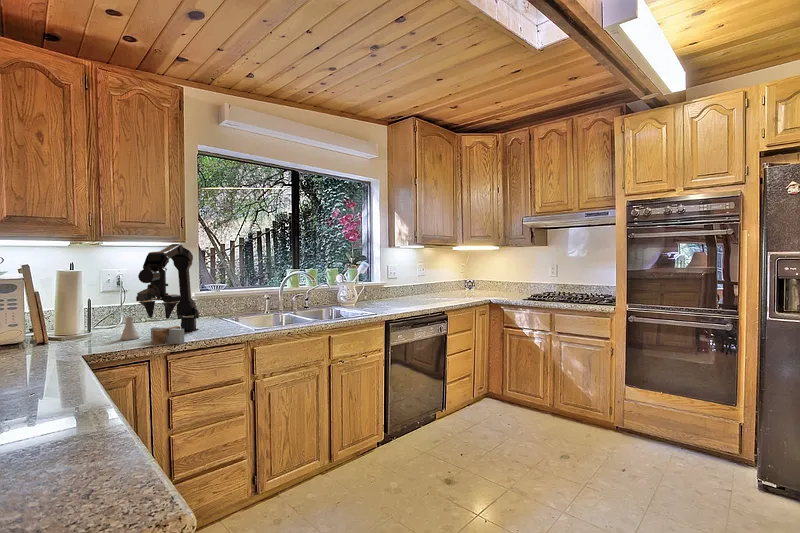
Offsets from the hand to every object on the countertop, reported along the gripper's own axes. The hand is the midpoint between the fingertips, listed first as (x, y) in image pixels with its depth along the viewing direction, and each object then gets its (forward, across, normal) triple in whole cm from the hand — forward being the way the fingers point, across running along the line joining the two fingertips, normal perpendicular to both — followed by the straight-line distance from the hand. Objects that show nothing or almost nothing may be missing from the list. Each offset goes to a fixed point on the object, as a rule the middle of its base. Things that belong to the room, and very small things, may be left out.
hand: (158, 318), depth 177 cm
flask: (+11, -23, +5) cm, 26 cm away
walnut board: (+11, 0, +4) cm, 12 cm away
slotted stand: (+11, 0, +4) cm, 12 cm away
